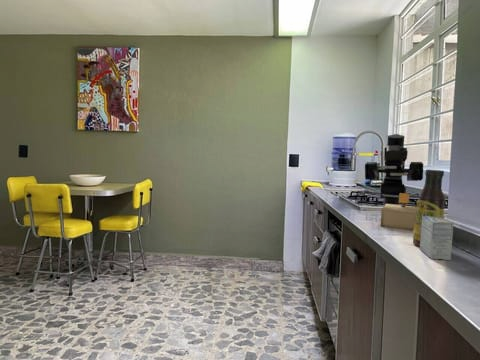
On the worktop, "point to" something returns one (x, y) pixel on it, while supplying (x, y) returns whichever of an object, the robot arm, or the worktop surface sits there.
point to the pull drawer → (402, 199)
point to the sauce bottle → (429, 201)
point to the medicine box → (436, 237)
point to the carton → (398, 217)
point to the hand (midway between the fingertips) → (392, 179)
